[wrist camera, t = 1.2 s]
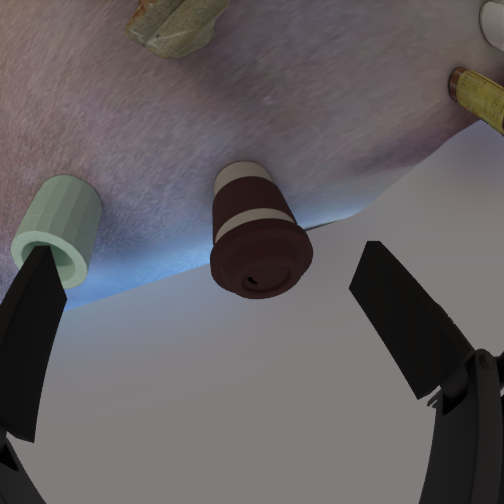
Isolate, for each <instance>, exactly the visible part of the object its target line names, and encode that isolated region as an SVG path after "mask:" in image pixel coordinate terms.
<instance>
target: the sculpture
mask: <svg viewBox="0 0 504 504" xmlns="http://www.w3.org/2000/svg"><path fill="white" fill-rule="evenodd" d="M138 2H139V5H138V7H137V9H136V11H135V13H134V14H133V16H132V17H131V19H130V20H129V22H128V24H127V26H126V28H125V32H124V33H125V35H126V36H127V38H129V39H130V40H132V41H134V42H135V43H137V44H140V45H142V46H143V47H145V48H146V49H148V50H149V51H150V52H152V53H153V54H154V55H156V56H158V57H160V58H164V59H173V58H181V57H184V56H186V55H188V54H190V53H192V52H194V51H196V50H198V49H200V48H202V47H204V46H205V45H207V44H208V43H209V41H210V40H211V38H212V37H213V35H214V32H215V31H214V29H213V27H214V25H215V22H216V19H217V18H218V17H219V16H220V15H221V14H222V13H223V12H224V11H225V10H226V8H227V7H228V6H229V4H230V2H231V0H138Z"/></svg>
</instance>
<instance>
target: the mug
mask: <svg viewBox="0 0 504 504" xmlns="http://www.w3.org/2000/svg"><path fill="white" fill-rule="evenodd" d="M480 25H481V29H482V32H483V34H484V37H485V38H486V40H487V41H488V42H489V43H490V44H491V45H493V46H495V47H497V48H498V49H500V50H502V51H504V5H501V4H498V3H494V2H486V3H485V4H484V5H483V6H482V8H481V11H480Z"/></svg>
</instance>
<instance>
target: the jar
mask: <svg viewBox="0 0 504 504" xmlns="http://www.w3.org/2000/svg"><path fill="white" fill-rule="evenodd" d="M101 215H102V204H101V200H100V198H99V196H98V194H97V193H96V191H95V190H94V189H93V188H92V187H91V186H90V185H89V184H88V183H86V182H85V181H83V180H82V179H79V178H77V177H74V176H69V175H58V176H54V177H52V178H50V179H48V180H47V181H45V182H44V183H43V185H42V186H41V188H40V189H39V191H38V192H37V194H36V196H35V198H34V199H33V201H32V203H31V205H30V207H29V209H28V211H27V213H26V215H25V217H24V219H23V221H22V223H21V225H20V227H19V229H18V231H17V233H16V235H15V238H14V240H13V242H12V247H11V254H12V257H13V260H14V262H15V264H16V265H17V267H18V268H19V269H21V267H22V265H23V264H24V262H25V260H26V259H27V257H28V256H29V254H30V252H31V251H32V249H33V248H34V246H41V245H50V247H51V250H52V254H53V257H54V261H55V264H56V267H57V271H58V274H59V277H60V280H61V283H62V286H63V289H70V288H73V287H76V286H79V285H80V284H81V283H82V282H84V280H85V278H86V276H87V273H88V268H89V264H90V259H91V255H92V251H93V247H94V243H95V239H96V235H97V231H98V228H99V224H100V220H101Z"/></svg>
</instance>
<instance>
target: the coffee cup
mask: <svg viewBox="0 0 504 504" xmlns="http://www.w3.org/2000/svg"><path fill="white" fill-rule="evenodd" d="M212 215H213V245H214V247H213V248H212V251H211V255H210V266H211V274H212V277H213V279H214V280H215V282H216V283H217V284H218V285H219V286H220V287H222V288H224V289H226V290H227V291H230V292H233V293H236V294H237V295H239V296H241V297H244V298H248V299H265V298H271V297H274V296H277V295H280V294H282V293H284V292H286V291H288V290H289V289H291V288H292V287H293V286H294V285H295V284H296V283H297V282H298V281H299V279H300V278H301V276H302V275H303V274H304V273H305V272H306V270H307V269H308V268H309V266H310V264H311V262H312V258H313V248H312V245H311V242H310V240H309V238H308V235H307V234H306V232H305V231H304V230H303V229H302V228H301V227H300V226H298V225H297V222H296V220H295V218H294V216H293V214H292V212H291V210H290V208H289V206H288V204H287V203H286V201H285V199H284V197H283V195H282V193H281V191H280V190H279V188H278V187H277V186H276V185H275V184H274V182H273V180H272V178H271V177H270V175H269V173H268V172H267V170H266V169H265V168H264V167H262V166H261V165H259V164H257V163H254V162H249V161H240V162H236V163H233V164H231V165H228V166H227V167H225V168H224V169H223V170H222V171H221V172H220V173H219V174H218V176H217V178H216V180H215V183H214V201H213V206H212Z"/></svg>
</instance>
